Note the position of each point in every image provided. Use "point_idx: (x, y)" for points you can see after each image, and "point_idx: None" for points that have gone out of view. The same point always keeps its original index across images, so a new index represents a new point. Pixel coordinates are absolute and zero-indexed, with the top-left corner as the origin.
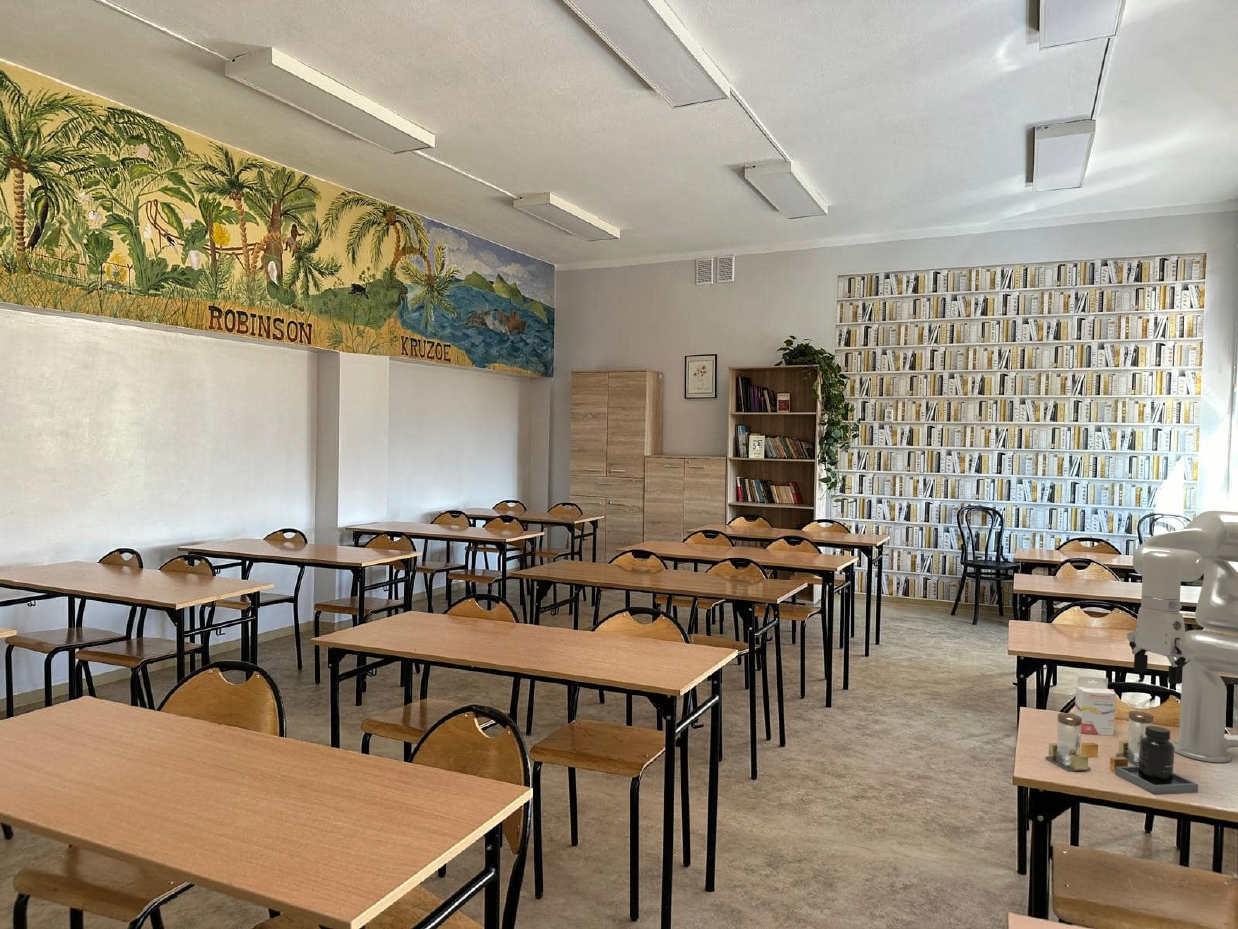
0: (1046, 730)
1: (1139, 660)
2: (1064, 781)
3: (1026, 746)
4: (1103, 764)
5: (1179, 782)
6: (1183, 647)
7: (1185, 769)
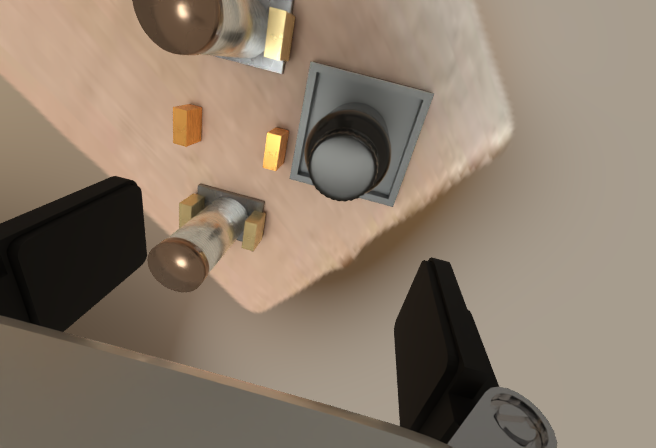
0: (29, 56)
1: (78, 296)
2: (290, 285)
3: None
4: (243, 140)
5: (386, 91)
6: None
7: None
